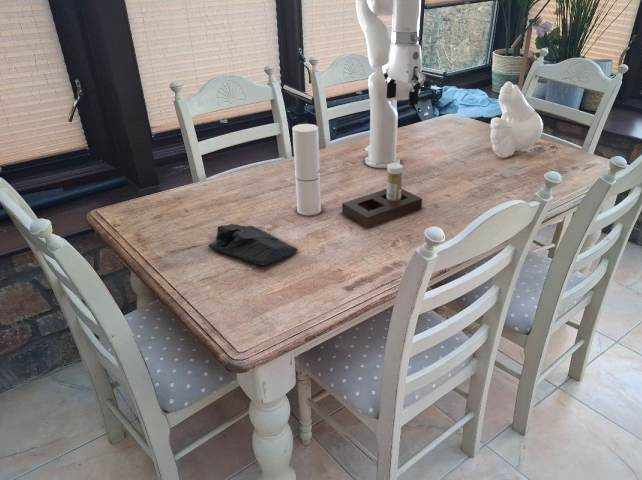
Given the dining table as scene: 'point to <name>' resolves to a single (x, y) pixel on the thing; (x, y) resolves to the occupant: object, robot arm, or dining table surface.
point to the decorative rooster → (514, 123)
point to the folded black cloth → (250, 244)
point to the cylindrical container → (307, 168)
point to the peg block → (380, 208)
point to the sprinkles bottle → (394, 182)
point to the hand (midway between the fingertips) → (401, 101)
